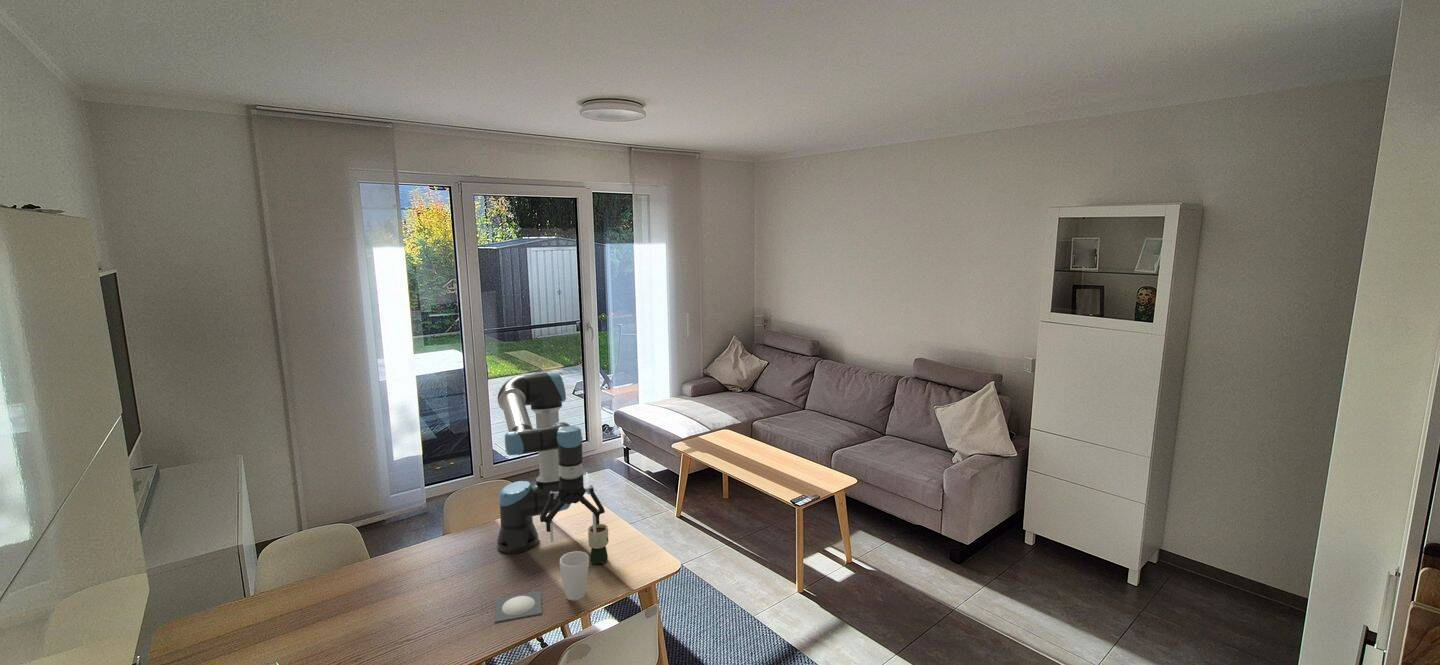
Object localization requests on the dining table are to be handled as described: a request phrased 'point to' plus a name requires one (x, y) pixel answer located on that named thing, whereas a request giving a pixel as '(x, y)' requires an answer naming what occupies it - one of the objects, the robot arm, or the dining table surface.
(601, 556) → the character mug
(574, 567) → the foam cup
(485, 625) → the dining table surface
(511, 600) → the mat
